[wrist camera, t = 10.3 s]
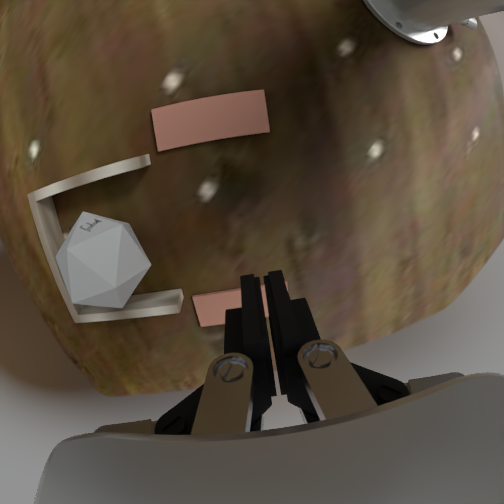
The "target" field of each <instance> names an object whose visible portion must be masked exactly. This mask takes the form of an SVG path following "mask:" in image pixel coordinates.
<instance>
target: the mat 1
mask: <svg viewBox="0 0 504 504" xmlns="http://www.w3.org/2000/svg"><path fill="white" fill-rule="evenodd" d="M151 111H152V118H153V124H154V131H155V137H156V142H157V148H158V152H159V151H163V150H167V149H172V148H176V147H181V146H186V145H191V144H196V143H201V142H206V141H212V140H218V139H224V138H230V137H236V136H243V135H250V134H258V133H266V132H270V128H269V121H268V114H267V107H266V101H265V94H264V89H263V90H254V91H245V92H237V93H230V94H223V95H217V96H211V97H205V98H200V99H195V100H190V101H185V102H181V103H176V104H172V105H167V106H163V107H159V108H155V109H152V110H151Z"/></svg>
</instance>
